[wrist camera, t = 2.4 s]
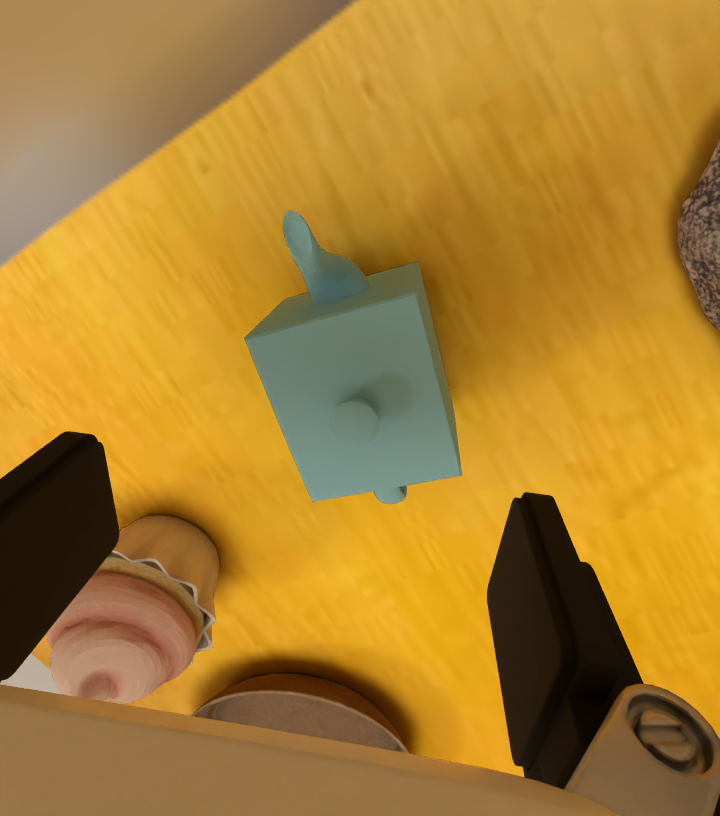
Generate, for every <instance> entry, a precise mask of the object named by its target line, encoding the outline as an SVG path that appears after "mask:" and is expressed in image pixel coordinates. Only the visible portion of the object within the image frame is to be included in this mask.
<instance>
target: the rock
mask: <svg viewBox="0 0 720 816" xmlns="http://www.w3.org/2000/svg"><path fill="white" fill-rule="evenodd" d="M677 226H678V229H679V231H678V244H677V246H678V250H679V253H680V259H681V262H682V264H683V266H684V269H685V271H686V273H687V275H688V276H689V278H690V279H691V281H692V283H693V285H694V288H695V291H696V295H697V298H698V300H699V302H700V304H701V306H702V308H703V311H704V314H705V316H706V317H707V319H708V320H709V321H710V322H711V324H712V325H713V326H714V327H715V328H716V329H717V330H718V331H719V332H720V139H719V143H718V144H717V146H716V148H715V150H714V152H713V155H712V157H711V160H710V161H709V163H708V165H707V166H706V168H705V170H704V172H703V174H702V176H701V178H700V180H699V181H698V183H697V185H696V187H695V188H694V189H693V191H692V192H691V193H690V195H689V196H688V197H687V199H686V200H685V202H684V203H683V204H682V209H681V213H680V216H679V218H678V221H677Z"/></svg>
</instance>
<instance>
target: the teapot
mask: <svg viewBox="0 0 720 816" xmlns="http://www.w3.org/2000/svg"><path fill="white" fill-rule="evenodd" d="M283 231H284V236H285V240H286V243H287V246H288V248H289V251H290V253H291V255H292V257H293V259H294V261H295V262H296V264H297V266H298V268H299V270H300V271H301V273H302V275H303V277H304V279H305V282H306V285H307V288H308V291H309V292H308V293H305V294H301V295H298V296H294V297H291V298H287V299H284V300H283V301H282V302H281V303H280V304H279V305H278V306H277V307H276V308H275V309H274V310H273V311H272V312H271V313H270V314H269V315H268V316H267V317H266V318H265V319H263V320H262V321H261V322H260V323H259V324H258V325H257V326H256V327H255V328H254V329H253V330H252V331H251V332H250V333H249V334H248V335H247V336H246V337H245V338H244V339H245V341H246V344H247V346H248V349H249V351H250V354H251V356H252V359H253V361H254V364H255V366H256V369H257V371H258V374H259V376H260V379H261V381H262V384H263V386H264V388H265V391H266V393H267V396H268V398H269V401H270V403H271V406H272V408H273V410H274V413H275V415H276V418H277V420H278V423H279V425H280V427H281V430H282V432H283V435H284V437H285V439H286V442H287V444H288V446H289V449H290V451H291V454H292V456H293V458H294V461H295V463H296V465H297V468H298V470H299V472H300V475H301V477H302V480H303V482H304V484H305V486H306V489H307V491H308V493H309V496H310V498H311V500H312V502H314V501H318V500H324V499H330V498H336V497H342V496H348V495H354V494H360V493H366V492H372V491H374V494H375V496H376V497H377V499H378V500H379V501H380V502H382V503H385V504H394V503H398V502H400V501H402V500H404V499H405V497H406V494H407V485H412V484H417V483H423V482H428V481H433V480H439V479H444V478H450V477H457V476H461V475H462V471H461V463H460V455H459V447H458V439H457V431H456V423H455V415H454V409H453V404H452V400H451V396H450V392H449V388H448V384H447V379H446V375H445V371H444V367H443V362H442V358H441V354H440V350H439V346H438V342H437V337H436V333H435V329H434V325H433V321H432V317H431V312H430V308H429V304H428V300H427V296H426V292H425V288H424V284H423V279H422V275H421V271H420V267H419V263H418V262H414V263H411V264H407V265H403V266H400V267H396V268H393V269H389V270H386V271H382V272H379V273H375V274H372V275H368V276H364V274H363V273H362V271H361V269H360V268H359V267H358V266H357V265H356V264H355V263H354V262H353V261H351V260H350V259H348V258H346V257H343V256H340V255H336V254H332V253H328V252H326V251H325V250H323V249H322V248H321V247H320V245H319V244H318V243H317V241H316V239H315V237H314V236H313V234H312V232H311V230H310V228H309V226H308V224H307V223H306V222H305V220H304V219H303V218H302V216H301V215H299V214H298V213H297V212H295V211H288V212H286V213H285V215H284V219H283Z"/></svg>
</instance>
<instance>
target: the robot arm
mask: <svg viewBox="0 0 720 816" xmlns="http://www.w3.org/2000/svg"><path fill="white" fill-rule="evenodd" d="M119 534H120V533H119V526H118V521H117V515H116V510H115V505H114V499H113V494H112V489H111V483H110V478H109V473H108V467H107V462H106V457H105V451H104V447H103V445H102V443H101V442H98V441H97V438H96V437H95V436H94V435H92V434H85V433H77V432H70V431H68V432H64V433H62V434H60V435H59V436H58V437H56V438H55V439H54V440H52V441H51V442H50V443H48V444H47V445H45V446H44V447H43V448H41V449H40V450H39V451H37V452H36V453H35V454H33V455H32V456H31V457H29V458H28V459H27V460H25V461H24V462H23V463H21V464H20V465H18V466H17V467H16V468H14V469H13V470H12V471H10V472H9V473H8V474H6V475H5V476H4V477H2V478H1V479H0V682H1V681H2V680H5V679H8V678H9V677H10V676H12V675H13V674H14V673H15V672H16V670H17V669H18V668H19V667H20V665H21V664H22V663H23V662H24V660H25V659H26V658H27V657H28V655H29V654H30V653H31V652H32V651H33V649H34V648H35V647H36V646H37V644H38V643H39V642H40V641H41V639H42V638H43V637H44V636H45V634H46V633H47V632H48V631H49V629H50V628H51V627H52V626H53V624H54V623H55V622H56V621H57V619H58V618H59V617H60V616H61V614H62V613H63V612H64V611H65V609H66V608H67V607H68V606H69V604H70V603H71V602H72V601H73V599H74V598H75V597H76V596H77V594H78V593H79V592H80V591H81V589H82V588H83V587H84V586H85V584H86V583H87V582H88V581H89V579H90V578H91V577H92V576H93V574H94V573H95V572H96V571H97V569H98V568H99V567H100V566H101V564H102V563H103V562H104V561H105V559H106V558H107V557H108V556H109V554H110V553H111V552H112V551H113V549H114V548H115V547H116V545H117V543H118V540H119ZM487 603H488V610H489V616H490V622H491V629H492V635H493V641H494V647H495V654H496V660H497V666H498V672H499V679H500V685H501V691H502V697H503V704H504V710H505V716H506V722H507V729H508V735H509V741H510V747H511V754H512V758H513V762H514V764H515V765H516V766H522V767H523V770H524V776H525V778H524V777H520V776H516V775H512V774H508V773H504V772H500V771H495V770H491V769H487V768H482V767H477V766H472V765H466V764H461V763H456V762H451V761H445V760H440V759H435V758H430V757H425V756H419V755H414V754H409V753H404V752H399V751H393V750H387V749H382V748H376V747H370V746H364V745H358V744H353V743H347V742H341V741H335V740H330V739H324V738H318V737H312V736H306V735H301V734H295V733H289V732H283V731H278V730H272V729H266V728H260V727H254V726H248V725H242V724H236V723H231V722H225V721H219V720H213V719H207V718H201V717H195V716H189V715H183V714H177V713H171V712H165V711H159V710H153V709H147V708H141V707H135V706H129V705H123V704H117V703H111V702H105V701H99V700H93V699H87V698H80V697H74V696H68V695H61V694H55V693H49V692H43V691H37V690H31V689H24V688H18V687H12V686H6V685H0V816H720V739H719V738H718V736H717V734H716V733H715V731H714V729H713V728H712V726H711V725H710V724H709V723H708V722H707V721H706V719H705V718H704V717H703V716H702V715H701V714H700V713H699V712H698V711H697V710H696V709H695V708H693V707H692V706H691V705H690V704H689V703H687V702H686V701H685V700H684V699H682V698H680V697H679V696H677V695H675V694H673V693H672V692H670V691H668V690H666V689H663V688H660V687H657V686H654V685H649V684H644V683H643V681H642V679H641V677H640V674H639V672H638V670H637V667H636V665H635V663H634V661H633V658H632V656H631V654H630V651H629V649H628V647H627V645H626V642H625V640H624V638H623V636H622V633H621V631H620V629H619V626H618V624H617V622H616V620H615V617H614V615H613V613H612V610H611V608H610V606H609V604H608V601H607V599H606V597H605V594H604V592H603V590H602V588H601V585H600V583H599V581H598V579H597V576H596V574H595V572H594V570H593V568H592V567H591V565H589V564H588V563H587V562H580V560H579V558H578V555H577V553H576V550H575V548H574V546H573V543H572V541H571V538H570V536H569V533H568V531H567V529H566V526H565V524H564V521H563V519H562V516H561V514H560V512H559V509H558V507H557V504H556V502H555V500H554V498H553V497H552V496H550V495H543V494H535V493H528V492H525V493H524V494H523V495H522V497H521V498H514V499H513V501H512V504H511V508H510V511H509V515H508V518H507V522H506V525H505V528H504V532H503V535H502V539H501V542H500V546H499V549H498V553H497V556H496V560H495V563H494V567H493V570H492V574H491V577H490V581H489V584H488V590H487Z"/></svg>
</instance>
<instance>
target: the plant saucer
mask: <svg viewBox="0 0 720 816" xmlns="http://www.w3.org/2000/svg"><path fill="white" fill-rule="evenodd" d="M191 716H195V717H201V718H207V719H213V720H219V721H225V722H231V723H236V724H242V725H248V726H254V727H260V728H266V729H272V730H278V731H283V732H289V733H295V734H301V735H306V736H312V737H318V738H324V739H330V740H335V741H341V742H347V743H353V744H358V745H364V746H370V747H376V748H382V749H387V750H393V751H399V752H404V753H409V751H408V749H407V747H406V745H405V744H404V742H403V740H402V739H401V737H400V736H399V734H398V733H397V731H396V730H395V728H394V727H393V726H392V724H391V723H390V722H389V720H388V719H387V718H386V717H385V716H384V714H383V713H382V712H381V711H380V710H379V709H378V708H377V707H375V706H374V705H373V704H372V703H371V702H369V701H368V700H367V699H365V698H364V697H363V696H361V695H359V694H358V693H356V692H354V691H353V690H351V689H349V688H346V687H344V686H342V685H340V684H337V683H334V682H332V681H329V680H325V679H322V678H317V677H313V676H307V675H300V674H268V675H263V676H258V677H254V678H250V679H247V680H244V681H242V682H239V683H237V684H235V685H233V686H231V687H229V688H227V689H225V690H223V691H222V692H220V693H218V694H217V695H215V696H214V697H212V698H211V699H209V700H208V701H207V702H206V703H204V704H203V705H202V706H201V707H200V708H199V709H197V710H196V711H195V712H194V713H193V714H192V715H191ZM409 754H410V753H409Z"/></svg>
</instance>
